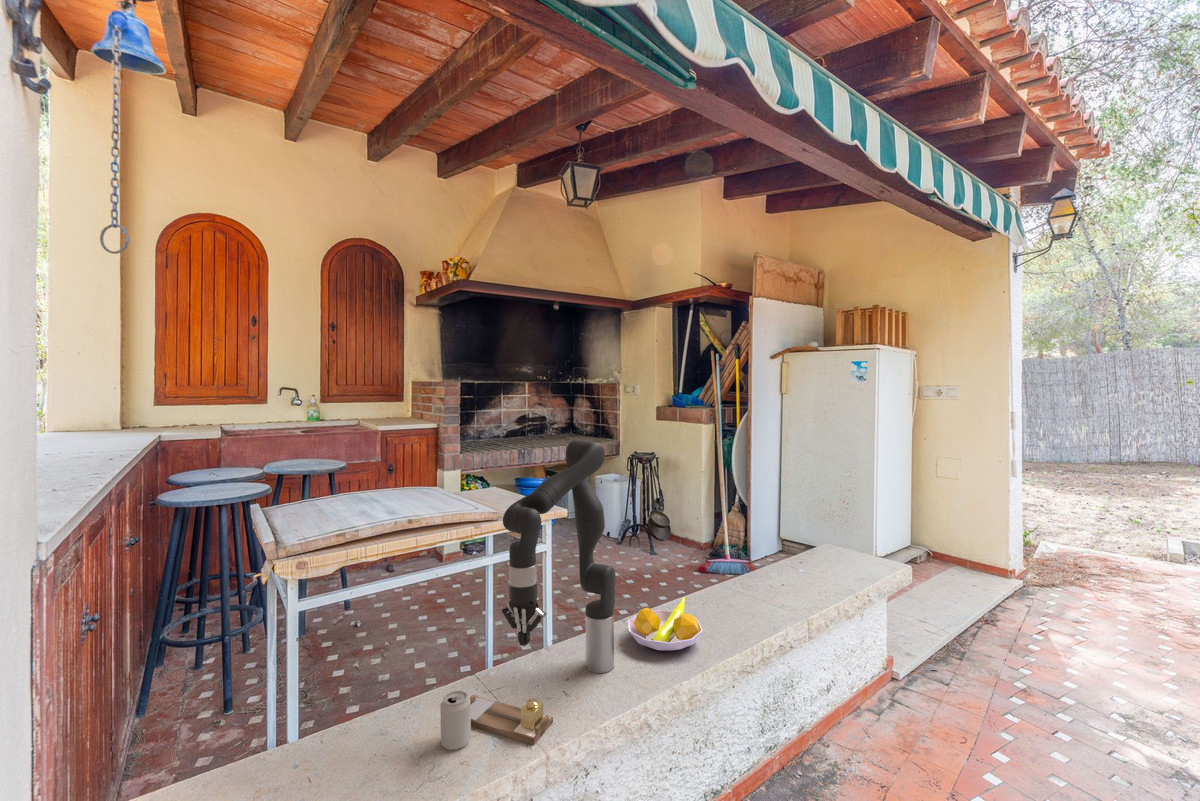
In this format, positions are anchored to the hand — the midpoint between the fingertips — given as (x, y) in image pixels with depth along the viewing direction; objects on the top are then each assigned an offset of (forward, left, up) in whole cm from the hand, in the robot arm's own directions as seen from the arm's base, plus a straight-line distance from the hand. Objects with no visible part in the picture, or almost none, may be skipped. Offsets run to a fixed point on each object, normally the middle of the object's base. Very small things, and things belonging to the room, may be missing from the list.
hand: (524, 644), depth 144 cm
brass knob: (+1, +3, -20) cm, 20 cm away
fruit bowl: (-61, +22, -22) cm, 69 cm away
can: (+13, -12, -22) cm, 29 cm away
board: (+1, -6, -22) cm, 23 cm away
